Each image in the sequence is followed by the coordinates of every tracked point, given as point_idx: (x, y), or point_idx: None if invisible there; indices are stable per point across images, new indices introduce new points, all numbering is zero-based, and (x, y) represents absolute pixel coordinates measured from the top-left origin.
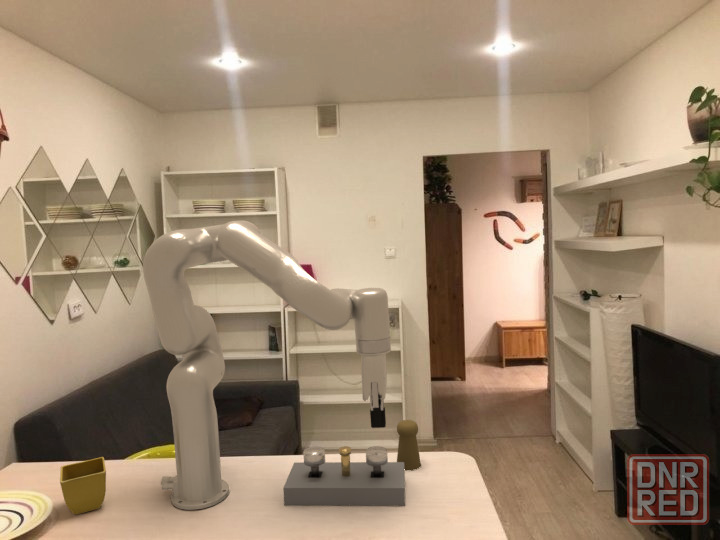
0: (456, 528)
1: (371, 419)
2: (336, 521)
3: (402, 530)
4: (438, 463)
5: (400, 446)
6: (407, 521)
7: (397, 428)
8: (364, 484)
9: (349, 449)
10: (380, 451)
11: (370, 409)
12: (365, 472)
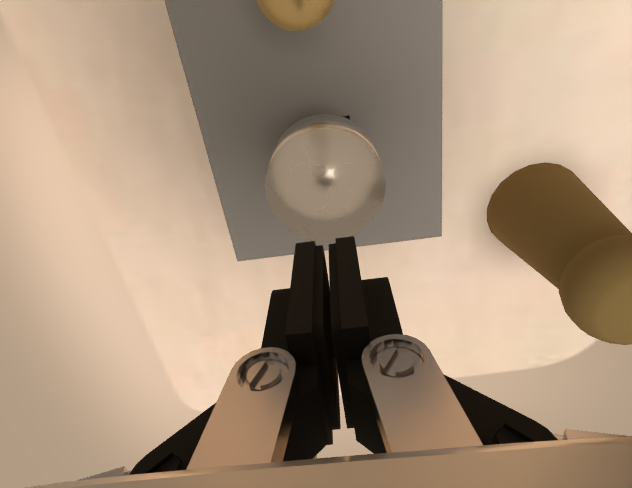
0: (177, 350)
1: (293, 282)
2: (79, 11)
3: (119, 238)
4: (533, 295)
5: (556, 220)
6: (168, 245)
7: (622, 251)
8: (226, 110)
9: (288, 23)
10: (318, 210)
11: (342, 323)
12: (336, 90)
